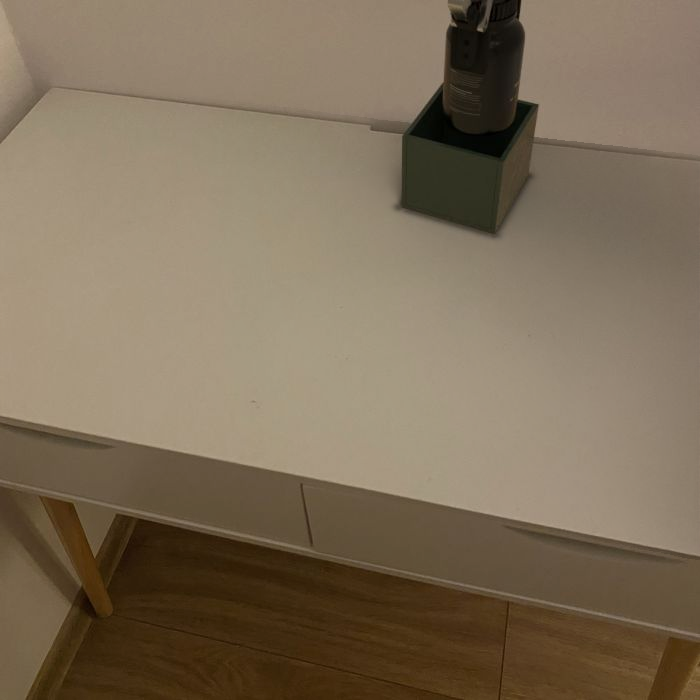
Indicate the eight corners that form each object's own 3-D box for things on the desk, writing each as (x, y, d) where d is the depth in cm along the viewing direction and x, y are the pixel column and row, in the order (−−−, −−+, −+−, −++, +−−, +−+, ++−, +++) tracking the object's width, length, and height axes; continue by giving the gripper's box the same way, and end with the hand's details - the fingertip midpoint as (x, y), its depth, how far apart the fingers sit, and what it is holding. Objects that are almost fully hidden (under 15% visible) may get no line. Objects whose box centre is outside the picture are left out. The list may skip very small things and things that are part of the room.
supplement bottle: (529, 127, 75) (547, 0, 66) (462, 147, 74) (470, 20, 65) (493, 90, 80) (505, -34, 70) (429, 107, 78) (433, -17, 69)
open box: (528, 175, 86) (539, 104, 79) (494, 233, 80) (503, 162, 74) (439, 152, 89) (442, 81, 83) (401, 206, 83) (401, 136, 77)
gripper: (515, -136, 52) (490, 110, 65) (592, -218, 62) (557, 10, 75) (406, -151, 54) (404, 90, 68) (497, -228, 64) (479, -4, 78)
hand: (484, 46), depth 71 cm, fingers closed on supplement bottle, 6 cm apart
